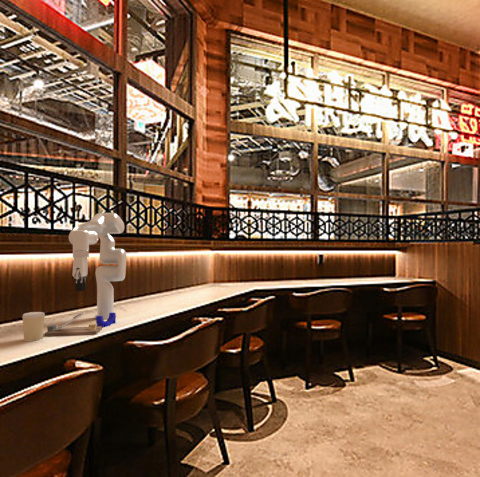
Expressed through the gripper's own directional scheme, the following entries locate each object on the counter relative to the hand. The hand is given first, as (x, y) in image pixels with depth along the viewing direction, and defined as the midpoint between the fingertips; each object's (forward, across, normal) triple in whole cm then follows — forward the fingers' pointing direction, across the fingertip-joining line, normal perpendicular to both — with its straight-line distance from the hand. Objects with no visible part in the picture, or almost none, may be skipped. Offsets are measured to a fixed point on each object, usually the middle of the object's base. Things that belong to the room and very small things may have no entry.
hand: (80, 290), depth 187 cm
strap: (+16, 0, -5) cm, 17 cm away
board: (+21, 0, -3) cm, 21 cm away
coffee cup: (+21, +11, -18) cm, 30 cm away
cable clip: (+22, -16, +9) cm, 29 cm away
